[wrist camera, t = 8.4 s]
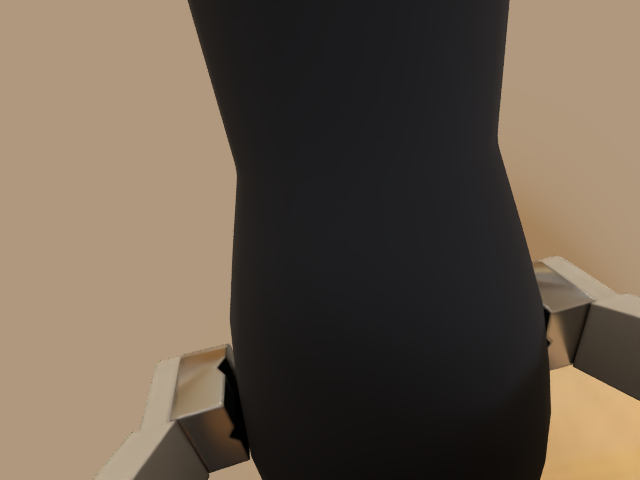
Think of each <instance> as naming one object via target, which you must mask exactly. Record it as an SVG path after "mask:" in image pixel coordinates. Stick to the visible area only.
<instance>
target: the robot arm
mask: <svg viewBox="0 0 640 480" xmlns="http://www.w3.org/2000/svg"><path fill="white" fill-rule="evenodd" d="M532 265H533V269H534V272H535V276H536V280H537V283H538V287H539V291H540V294H541V298H542V302H543V309H544V318H545V327H546V337H547V346H548V355H549V368H550V370H554V369H557V368H561V367H565V366H569V365H572V364H573V367H575V368H577V369H579V370H581V371H583V372H585V373H586V374H588V375H590V376H592V377H594V378H596V379H598V380H600V381H602V382H604V383H606V384H608V385H610V386H612V387H614V388H616V389H618V390H620V391H621V392H623V393H625V394H627V395H629V396H631V397H633V398H635V399H637V400H639V401H640V297H639V296H636V295H631V294H628V293H624V294H620V295H619V294H618V293H616V292H615V291H613V290H612V289H610V288H609V287H607V286H606V285H604V284H602V283H601V282H599V281H598V280H596V279H595V278H593V277H592V276H590V275H589V274H587V273H586V272H584V271H583V270H581V269H579V268H578V267H576V266H575V265H573V264H572V263H570V262H569V261H567V260H566V259H564V258H562V257H558V256H552V257H548V258H545V259H541V260H538V261H535V262H532ZM248 460H250V448H249V442H248V438H247V433H246V428H245V423H244V417H243V414H242V408H241V403H240V397H239V391H238V385H237V379H236V373H235V365H234V355H233V350H232V348H231V345H229V344H225V345H220V346H216V347H212V348H208V349H204V350H200V351H196V352H192V353H187V354H184V355H182V356H177V357H173V358H169V359H164V360H160V362H159V363H158V364H157V365H156V367H155V370H154V374H153V378H152V382H151V386H150V390H149V394H148V398H147V402H146V406H145V409H144V414H143V417H142V421H141V425H140V429H139V431H136V432H132V433H131V434H130V435H129V437H127V439H126V440H125V441H124V442H123V443H122V445H121V446H120V447H119V448H118V449H117V451H116V452H115V453H114V454H113V455H112V456H111V458H110V459H109V460H108V461H107V463H106V464H105V465H104V466H103V467H102V469H101V470H100V471H99V472H98V473H97V474H96V476H95V477H94V478H93V479H92V480H208V478H209V474H208V473H211V472H214V471H217V470H220V469H223V468H226V467H229V466H232V465H235V464H238V463H242V462H245V461H248Z"/></svg>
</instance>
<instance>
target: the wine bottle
mask: <svg viewBox="0 0 640 480" xmlns="http://www.w3.org/2000/svg"><path fill="white" fill-rule="evenodd" d="M188 3H189V7H190V10H191V13H192V17H193V20H194V24H195V27H196V31H197V34H198V38H199V41H200V45H201V48H202V51H203V55H204V58H205V62H206V65H207V69H208V72H209V76H210V79H211V83H212V86H213V89H214V93H215V96H216V99H217V103H218V106H219V110H220V114H221V117H222V120H223V124H224V127H225V131H226V134H227V138H228V141H229V145H230V148H231V151H232V155H233V158H234V162H235V166H236V171H237V188H236V206H235V223H234V239H233V258H232V281H231V304H230V325H231V335H232V344H233V355H234V365H235V373H236V379H237V385H238V391H239V397H240V403H241V408H242V414H243V417H244V423H245V428H246V433H247V438H248V442H249V447H250V452H251V456H252V459H253V461H254V463H255V465H256V467H257V469H258V472H259V474H260V476H261V478H262V480H540V478H541V475H542V471H543V468H544V464H545V459H546V451H547V442H548V433H549V424H550V416H551V400H550V368H549V355H548V346H547V337H546V327H545V318H544V309H543V302H542V298H541V294H540V291H539V287H538V283H537V280H536V276H535V272H534V269H533V265H532V261H531V258H530V254H529V250H528V246H527V243H526V239H525V236H524V232H523V228H522V225H521V221H520V218H519V215H518V211H517V208H516V204H515V201H514V197H513V194H512V191H511V187H510V184H509V180H508V177H507V174H506V170H505V167H504V164H503V160H502V156H501V153H500V150H499V146H498V136H497V135H498V121H499V110H500V99H501V88H502V77H503V66H504V55H505V43H506V32H507V22H508V10H509V0H188Z"/></svg>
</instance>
